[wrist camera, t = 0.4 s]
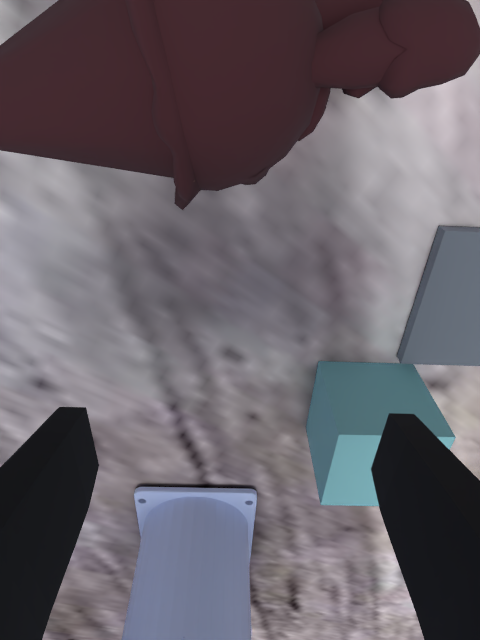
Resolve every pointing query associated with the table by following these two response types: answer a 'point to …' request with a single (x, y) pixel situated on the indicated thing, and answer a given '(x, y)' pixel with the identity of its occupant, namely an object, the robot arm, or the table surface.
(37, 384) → the table surface
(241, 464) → the table surface
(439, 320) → the slate coaster
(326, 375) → the teal cube
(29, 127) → the dark brown lumpy figure
